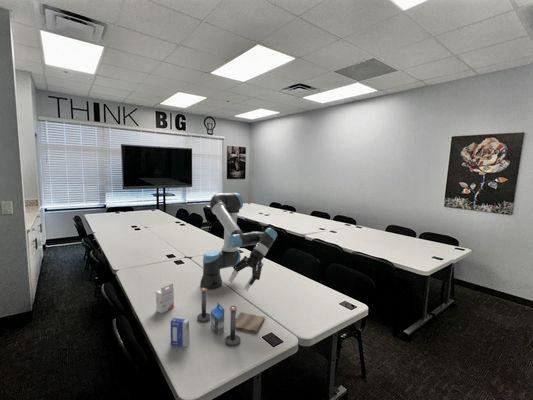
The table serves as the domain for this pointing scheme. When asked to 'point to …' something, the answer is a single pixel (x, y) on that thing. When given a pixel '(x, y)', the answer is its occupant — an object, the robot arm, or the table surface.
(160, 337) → the table surface
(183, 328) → the walkman
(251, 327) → the walnut board
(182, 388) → the table surface
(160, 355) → the table surface
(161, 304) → the ink cartridge box
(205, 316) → the cord stand far
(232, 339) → the cord stand near
